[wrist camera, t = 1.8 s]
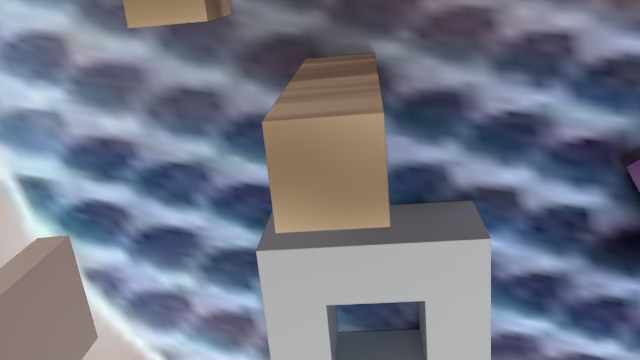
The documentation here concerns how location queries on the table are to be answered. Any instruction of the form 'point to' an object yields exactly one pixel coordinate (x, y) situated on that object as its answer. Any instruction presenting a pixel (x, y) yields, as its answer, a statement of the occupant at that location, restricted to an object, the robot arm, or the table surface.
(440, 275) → the socket block
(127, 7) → the short peg
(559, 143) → the table surface
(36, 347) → the robot arm
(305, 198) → the long peg
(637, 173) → the teapot
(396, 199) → the table surface
